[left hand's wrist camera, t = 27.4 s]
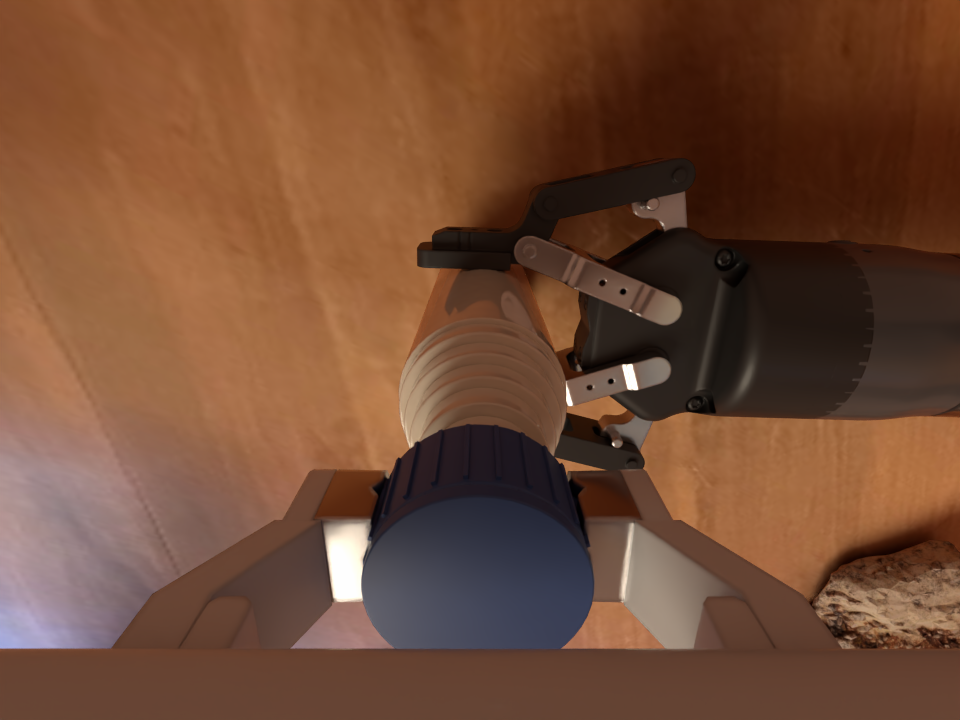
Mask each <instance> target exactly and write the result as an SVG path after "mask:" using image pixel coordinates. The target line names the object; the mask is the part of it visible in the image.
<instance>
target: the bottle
mask: <svg viewBox="0 0 960 720" xmlns="http://www.w3.org/2000/svg"><path fill="white" fill-rule="evenodd" d="M566 399H567V387H566V380H565V375H564V372H563V370H562V367H561V364H560V361H559V359H558V356H557V354H556V351H555V348H554V346H553V343H552V341H551V338H550V335H549V333H548V330H547V328H546V325H545V322H544V320H543V317H542V315H541V312H540V309H539V307H538V304H537V302H536V299H535V296H534V294H533V291H532V289H531V286H530V283H529V281H528V278H527V276H526V273H525V270H524V268H523V266H522V265H521V264H511V267H510V271H506V270H487V269H478V270H476V269H446V268H441V269H440V271H439V274H438V277H437V279H436V282H435V285H434V288H433V290H432V293H431V296H430V298H429V301H428V304H427V306H426V309H425V312H424V314H423V317H422V320H421V323H420V325H419V328H418V331H417V333H416V336H415V339H414V341H413V344H412V347H411V349H410V352H409V355H408V357H407V360H406V363H405V366H404V368H403V371H402V375H401V379H400V384H399V414H400V420H401V424H402V427H403V430H404V433H405V435H406V439H407V442H408V445H409V448H410V449H411V448H412V447H413V446H414V443H415V442H417V441H419V442H420V441H422V440H423V439H425V438H427V437H428V436H430V435H432V434H434V433H436V432H438V430H441V429H443V430H445V429H449V428H452V427H457V426H463V425H466V424H472V425H473V424H482V425H498V426H499V427H505V428H509V429H512V430H514V431H517V432H519V433H521V432H523V433H525V435H526V436H528V437H530V438H531V439H533V440H535V441H536V442H538V443H539V444H541V445H542V446H544V445H545V446H546V447H547V448H548V451H549V452H550V453H551V454H552V455H553V456H554V453H555V450H556V447H557V445H558V442H559V439H560V435H561V432H562V430H563V427H564V423H565V419H566V411H567V402H566Z"/></svg>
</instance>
